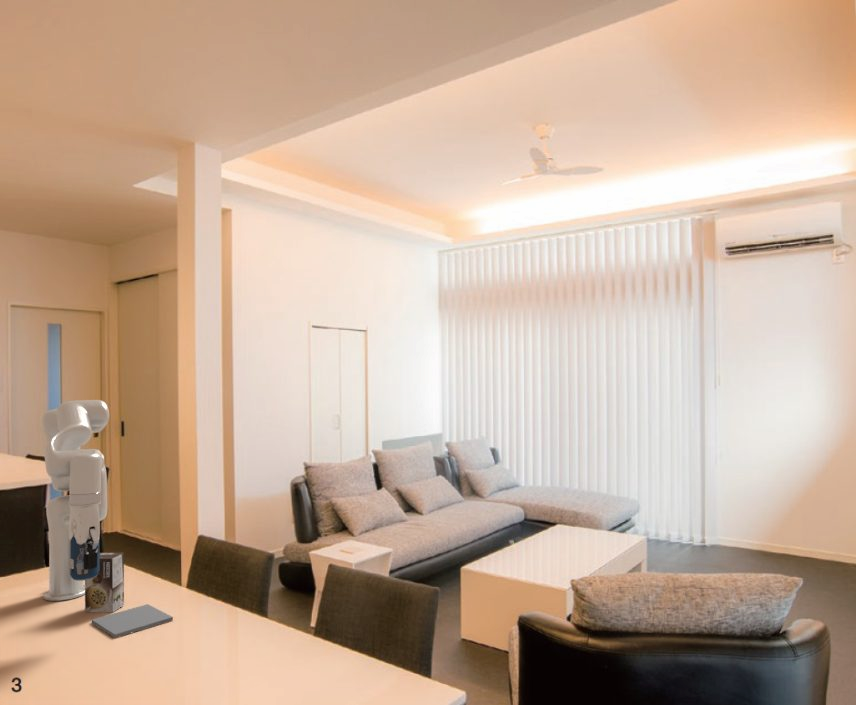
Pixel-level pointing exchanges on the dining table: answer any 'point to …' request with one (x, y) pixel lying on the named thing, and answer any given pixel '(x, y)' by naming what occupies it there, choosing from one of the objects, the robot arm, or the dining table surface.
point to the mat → (131, 620)
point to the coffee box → (106, 585)
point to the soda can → (81, 562)
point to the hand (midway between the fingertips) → (85, 565)
